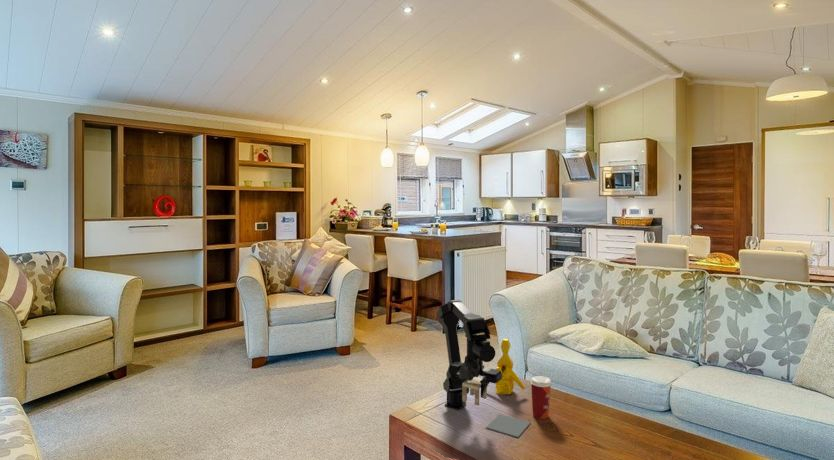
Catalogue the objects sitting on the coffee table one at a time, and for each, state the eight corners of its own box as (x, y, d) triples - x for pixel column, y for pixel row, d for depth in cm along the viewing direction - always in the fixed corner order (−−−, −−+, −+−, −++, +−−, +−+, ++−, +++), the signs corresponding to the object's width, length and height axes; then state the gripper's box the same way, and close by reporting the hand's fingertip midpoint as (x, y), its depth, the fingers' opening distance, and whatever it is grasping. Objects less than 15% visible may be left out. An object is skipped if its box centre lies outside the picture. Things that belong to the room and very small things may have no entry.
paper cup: (552, 421, 167) (552, 384, 166) (530, 419, 169) (530, 382, 168) (550, 411, 175) (550, 376, 174) (529, 409, 176) (530, 374, 175)
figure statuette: (481, 392, 192) (482, 341, 191) (485, 385, 200) (485, 336, 198) (524, 398, 186) (525, 345, 185) (526, 391, 194) (527, 340, 192)
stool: (471, 393, 168) (471, 375, 167) (486, 397, 165) (486, 379, 164) (462, 401, 162) (462, 382, 161) (477, 405, 158) (477, 386, 158)
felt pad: (485, 428, 162) (485, 427, 162) (499, 414, 172) (499, 413, 172) (518, 437, 156) (518, 436, 156) (530, 423, 166) (530, 422, 166)
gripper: (440, 354, 160) (440, 397, 161) (490, 364, 150) (489, 410, 151) (455, 345, 170) (455, 386, 171) (502, 354, 160) (502, 398, 161)
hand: (474, 395), depth 163 cm, fingers closed on stool, 5 cm apart
